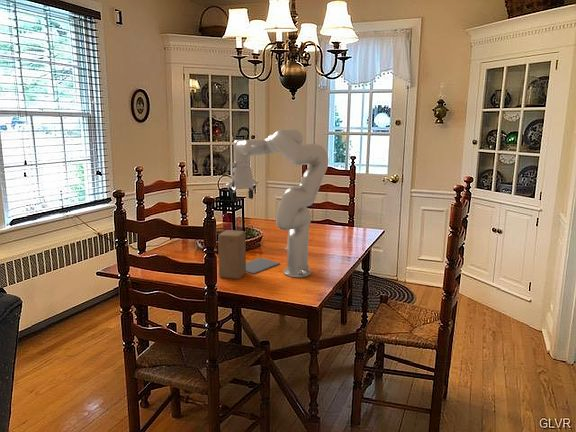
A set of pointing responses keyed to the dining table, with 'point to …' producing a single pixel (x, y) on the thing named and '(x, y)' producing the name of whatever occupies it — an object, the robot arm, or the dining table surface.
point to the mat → (259, 265)
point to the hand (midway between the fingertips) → (242, 199)
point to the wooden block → (232, 254)
